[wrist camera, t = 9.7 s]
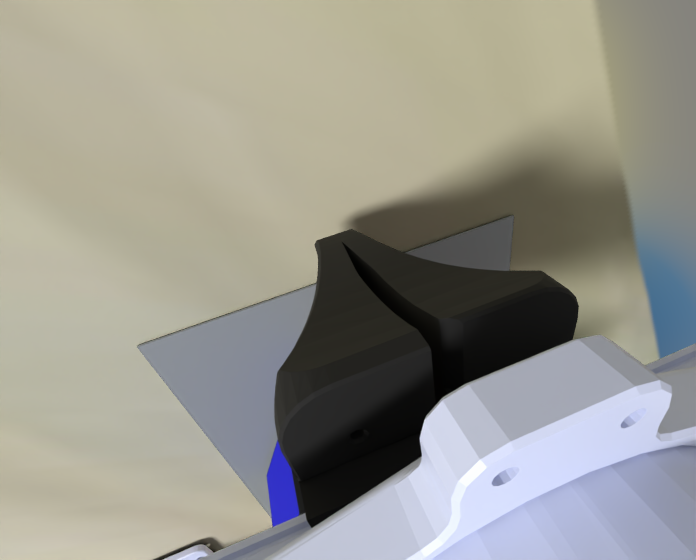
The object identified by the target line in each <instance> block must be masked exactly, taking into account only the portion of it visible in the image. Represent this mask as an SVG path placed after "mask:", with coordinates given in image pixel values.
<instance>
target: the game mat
mask: <svg viewBox="0 0 696 560" xmlns="http://www.w3.org/2000/svg"><path fill="white" fill-rule="evenodd" d="M513 223H514V216H513V215H511V216H508V217H506V218H503V219H500V220H497V221H494V222H491V223H488V224H485V225H483V226H480V227H477V228H474V229H471V230H468V231H465V232H462V233H460V234H457V235H454V236H451V237H448V238H445V239H442V240H439V241H437V242H434V243H431V244H428V245H425V246H422V247H419V248H416V249H414V250H411V251H408V252H405V253H407V254H409V255H412V256H415V257H419V258H422V259H426V260H430V261H434V262H438V263H442V264H447V265H453V266H460V267H466V268H474V269H485V270H500V271H509V270H510V258H511V247H512V235H513ZM316 284H317V283H316ZM316 284H313V285H310V286H307V287H304V288H301V289H298V290H296V291H293V292H290V293H287V294H284V295H281V296H278V297H275V298H273V299H270V300H267V301H264V302H261V303H258V304H255V305H252V306H250V307H247V308H244V309H241V310H238V311H235V312H232V313H229V314H227V315H224V316H221V317H218V318H215V319H212V320H209V321H206V322H204V323H201V324H198V325H195V326H192V327H189V328H186V329H183V330H181V331H178V332H175V333H172V334H169V335H166V336H163V337H160V338H158V339H155V340H152V341H149V342H146V343H143V344H140V345H138V346H137V348H138V349H139V350H140V352H141V353H142V354H143V355H144V357H145V358H146V359H147V361H148V362H149V363H150V364H151V366H152V367H153V368H154V369H155V371H156V372H157V373H158V375H159V376H160V377H161V378H162V380H163V381H164V382H165V383H166V385H167V386H168V387H169V389H170V390H171V391H172V392H173V394H174V395H175V396H176V397H177V399H178V400H179V401H180V403H181V404H182V405H183V406H184V408H185V409H186V410H187V411H188V413H189V414H190V415H191V417H192V418H193V419H194V420H195V422H196V423H197V424H198V425H199V427H200V428H201V429H202V431H203V432H204V433H205V434H206V436H207V437H208V438H209V439H210V441H211V442H212V443H213V445H214V446H215V447H216V448H217V450H218V451H219V452H220V453H221V455H222V456H223V457H224V459H225V460H226V461H227V462H228V464H229V465H230V466H231V467H232V469H233V470H234V471H235V473H236V474H237V475H238V476H239V478H240V479H241V480H242V481H243V483H244V484H245V485H246V487H247V488H248V489H249V490H250V492H251V493H252V494H253V496H254V497H255V498H256V499H257V501H258V502H259V503H260V504H261V506H262V507H263V508H264V510H265V511H266V512H267V513H268V515H269V516H270V517H271V509H270V500H269V492H268V484H267V472H268V469H269V466H270V462H271V459H272V456H273V453H274V449H275V446H276V443H277V440H278V438H277V432H276V426H275V418H274V397H275V386H276V377H277V372H278V370H279V369H280V368H281V366H282V365H283V363H284V362H285V360H286V359H287V357H288V356H289V354H290V353H291V351H292V350H293V348H294V346H295V344H296V342H297V340H298V338H299V336H300V334H301V332H302V331H303V328H304V326H305V324H306V321H307V318H308V316H309V313H310V310H311V307H312V303H313V300H314V295H315V291H316ZM271 518H272V517H271Z"/></svg>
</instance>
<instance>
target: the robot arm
mask: <svg viewBox="0 0 696 560" xmlns="http://www.w3.org/2000/svg"><path fill="white" fill-rule="evenodd" d="M315 248H316V251H317V254H318V277H317V284H316V291H315V295H314V300H313V303H312V307H311V310H310V313H309V316H308V318H307V321H306V324H305V326H304V328H303V331H302V332H301V334H300V336H299V338H298V340H297V342H296V344H295V346H294V348H293V350H292V351H291V353H290V354H289V356H288V357H287V359H286V360H285V362H284V363H283V365H282V366H281V368H280V369H279V370H278V372H277V377H276V386H275V397H274V418H275V426H276V432H277V438H278V443H279V446H280V449H281V452H282V454H283V455H284V457H285V459H286V460H287V462H288V464H289V466H290V467H291V469H292V471H293V472H294V474H295V476H296V477H297V479H298V481H299V484H300V489H301V495H302V500H303V505H304V510H305V513H304V514H302V515H300V516H297V517H295V518H293V519H290V520H288V521H286V522H283V523H281V524H279V525H276V526H274V527H272V528H270V529H267V530H265V531H263V532H260V533H258V534H256V535H253V536H251V537H249V538H247V539H244V540H242V541H240V542H237V543H235V544H233V545H230V546H228V547H226V548H224V549H221V550H219V551H217V552H213V551H211V550H210V549H209V548H208V547H207V546H205V545H202V544H200V545H196V546H193V547H191V548H189V549H186V550H184V551H182V552H179V553H177V554H175V555H172V556H170V557H167V558H165V559H163V560H696V344H693V345H691V346H689V347H687V348H684V349H682V350H680V351H677V352H675V353H673V354H670V355H668V356H666V357H663V358H661V359H659V360H656V361H654V362H652V363H650V364H647V365H643V364H642V363H641V362H639V361H638V360H637V359H635V358H634V357H633V356H631V355H630V354H629V353H627V352H626V351H625V350H623V349H622V348H621V347H619V346H618V345H617V344H616V343H614V342H613V341H611V340H609V339H607V338H606V337H604V336H602V335H594V336H588V337H583V338H579V339H574V340H573V335H574V331H575V327H576V323H577V318H578V307H579V306H578V302H577V299H576V297H575V296H574V294H573V293H572V292H571V291H570V290H568V289H567V288H565V287H564V286H563V285H561V284H560V283H558V282H557V281H555V280H554V279H553V278H551V277H550V276H548V275H547V274H545V273H544V272H542V271H500V270H485V269H474V268H466V267H460V266H453V265H447V264H442V263H438V262H434V261H430V260H426V259H422V258H419V257H415V256H412V255H409V254H407V253H404V252H401V251H398V250H396V249H393V248H391V247H389V246H386V245H384V244H382V243H380V242H377V241H375V240H373V239H371V238H369V237H367V236H365V235H363V234H361V233H359V232H357V231H355V230H353V229H350V230H347V231H344V232H341V233H338V234H335V235H332V236H329V237H326V238H323V239H320V240H317V241H316V243H315Z"/></svg>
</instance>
